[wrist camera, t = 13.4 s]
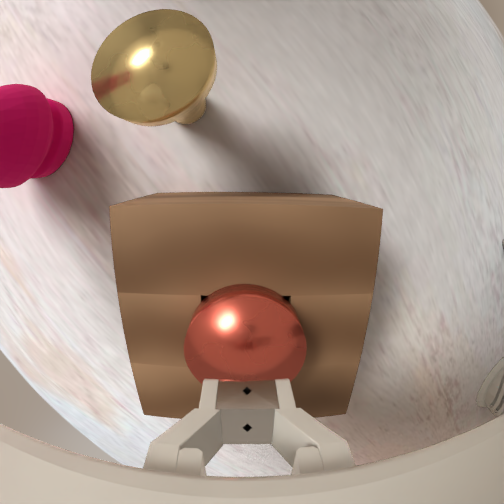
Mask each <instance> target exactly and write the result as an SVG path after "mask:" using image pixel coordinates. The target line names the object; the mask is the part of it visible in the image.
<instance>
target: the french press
mask: <svg viewBox="0 0 504 504" xmlns="http://www.w3.org/2000/svg"><path fill="white" fill-rule="evenodd" d="M476 402H477V405H478V406H479V407H488V408H489V409H490V410H491V412H492V413H493V414H494V415H495V416H496V418H497V417H499V416H500V415H503V414H504V357H503V358H502V359H501V360H500V361H499V362H498V363H497V364H496V366H495V367H494V368H493V369H492V370H491V372H490V373H489V375H488V376H487V377H486V379H485V380H484V382H483V384H482V386H481V388H480V390H479V392H478V395H477V399H476ZM491 405H492V406H493V407H492V408H491V407H490V406H491ZM495 409H496V410H497V411H498V412H497V413H496V412H495V411H494V410H495Z"/></svg>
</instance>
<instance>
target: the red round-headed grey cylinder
mask: <svg viewBox="0 0 504 504" xmlns="http://www.w3.org/2000/svg"><path fill="white" fill-rule="evenodd" d="M306 350H307V345H306V338H305V335H304V332H303V329H302V327H301V324H300V321H299V319H298V316H297V314H296V312H295V310H294V308H293V307H292V305H291V304H290V303H289V302H288V301H287V300H286V299H285V298H284V297H283V296H282V295H280V294H279V293H277V292H275V291H273V290H271V289H269V288H266V287H263V286H260V285H254V284H236V285H230V286H227V287H223V288H221V289H219V290H216V291H214V292H213V293H211V294H210V295H208V296H207V297H206V298H205V299H203V300H202V302H201V303H200V304H199V305H198V306H197V308H196V309H195V311H194V313H193V315H192V318H191V321H190V324H189V327H188V330H187V334H186V337H185V341H184V356H185V360H186V363H187V366H188V368H189V370H190V371H191V373H192V374H193V375H194V377H195V378H196V379H197V380H198V381H199V382H200V383H201V384H203V381H204V379H218V380H219V379H227V380H275V379H287V378H288V379H289V380H290V382H291V381H292V380H293V379H294V378H295V377H296V376H297V374H298V373H299V371H300V370H301V368H302V366H303V364H304V361H305V357H306Z"/></svg>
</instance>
